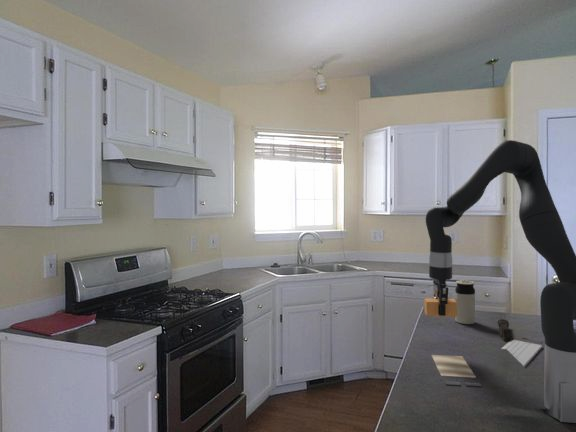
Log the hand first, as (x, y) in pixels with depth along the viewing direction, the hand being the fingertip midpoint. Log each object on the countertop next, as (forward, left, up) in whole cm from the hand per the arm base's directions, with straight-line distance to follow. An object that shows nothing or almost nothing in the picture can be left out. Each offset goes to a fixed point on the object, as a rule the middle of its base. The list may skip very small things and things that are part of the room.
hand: (440, 312), depth 145 cm
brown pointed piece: (+27, -30, -15) cm, 43 cm away
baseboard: (+3, -24, -16) cm, 29 cm away
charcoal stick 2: (-26, -4, -14) cm, 30 cm away
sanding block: (0, 0, -1) cm, 1 cm away
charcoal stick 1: (-26, +1, -14) cm, 30 cm away
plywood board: (-13, -1, -15) cm, 20 cm away
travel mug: (+42, -18, -15) cm, 49 cm away
